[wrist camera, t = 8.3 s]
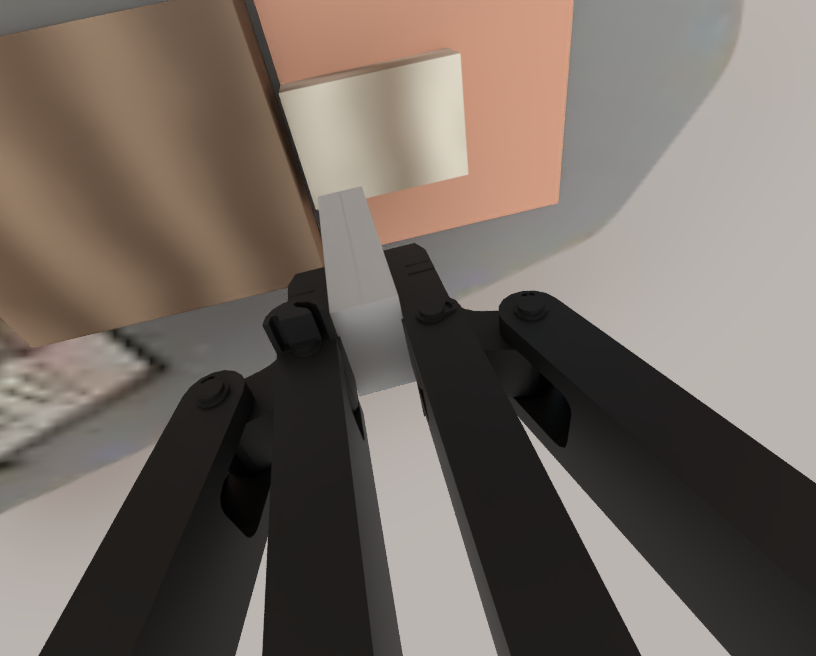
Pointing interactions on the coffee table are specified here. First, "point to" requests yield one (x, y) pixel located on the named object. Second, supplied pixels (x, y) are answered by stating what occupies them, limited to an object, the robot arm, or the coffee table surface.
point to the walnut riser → (143, 171)
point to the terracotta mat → (482, 92)
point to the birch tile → (380, 124)
